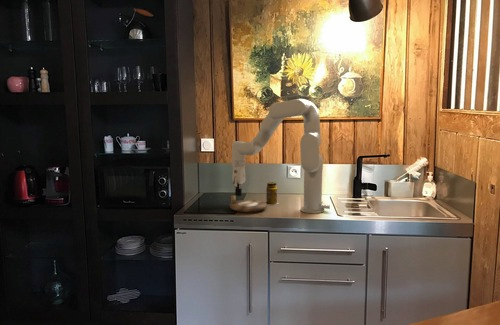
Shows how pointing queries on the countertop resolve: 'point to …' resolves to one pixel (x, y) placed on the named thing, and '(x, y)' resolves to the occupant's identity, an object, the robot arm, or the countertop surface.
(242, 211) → the base
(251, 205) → the brown round disc
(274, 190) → the condiment
